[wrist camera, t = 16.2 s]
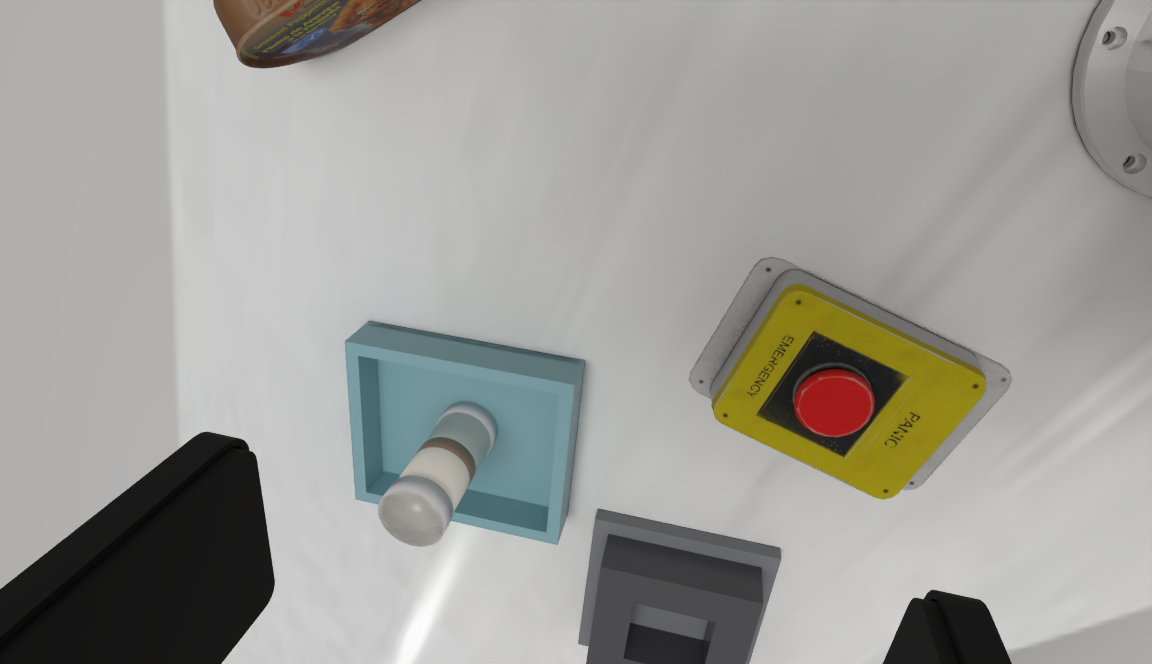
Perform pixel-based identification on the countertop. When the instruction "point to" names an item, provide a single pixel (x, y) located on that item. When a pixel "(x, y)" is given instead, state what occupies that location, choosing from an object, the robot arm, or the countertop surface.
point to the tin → (300, 26)
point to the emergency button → (842, 381)
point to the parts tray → (476, 374)
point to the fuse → (438, 475)
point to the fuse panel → (673, 594)
